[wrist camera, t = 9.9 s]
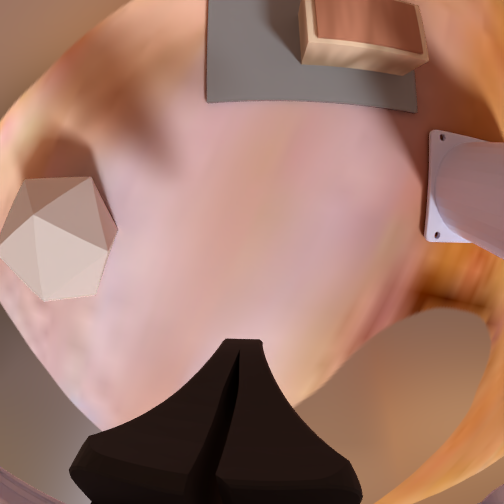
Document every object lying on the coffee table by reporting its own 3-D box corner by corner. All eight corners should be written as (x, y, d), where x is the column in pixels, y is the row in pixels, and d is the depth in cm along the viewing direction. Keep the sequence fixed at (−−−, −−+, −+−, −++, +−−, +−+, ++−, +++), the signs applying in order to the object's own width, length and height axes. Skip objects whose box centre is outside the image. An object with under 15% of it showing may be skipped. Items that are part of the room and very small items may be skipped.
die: (115, 149, 19) (-11, 156, 12) (159, 238, 17) (-6, 269, 10) (92, 224, 24) (-6, 240, 17) (127, 306, 22) (13, 338, 14)
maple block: (298, 14, 15) (396, 27, 14) (301, 64, 16) (402, 76, 16) (304, -17, 11) (420, 4, 10) (309, 40, 12) (431, 59, 12)
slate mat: (401, 6, 14) (403, 4, 14) (414, 113, 17) (417, 112, 16) (210, -7, 15) (209, -9, 15) (208, 103, 18) (206, 102, 17)
